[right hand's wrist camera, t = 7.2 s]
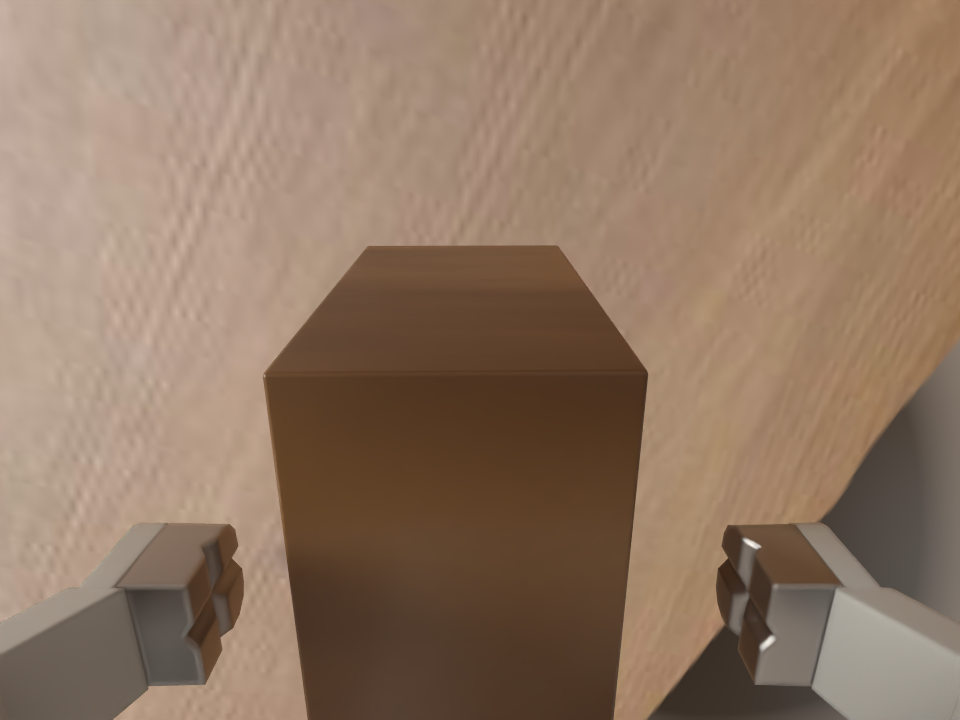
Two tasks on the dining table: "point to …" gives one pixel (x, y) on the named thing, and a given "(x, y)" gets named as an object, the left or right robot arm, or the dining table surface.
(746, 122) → the dining table surface
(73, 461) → the dining table surface
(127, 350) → the dining table surface
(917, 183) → the dining table surface
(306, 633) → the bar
